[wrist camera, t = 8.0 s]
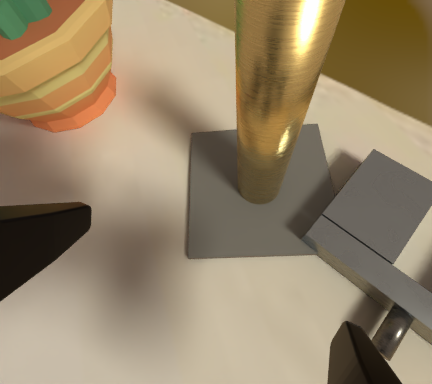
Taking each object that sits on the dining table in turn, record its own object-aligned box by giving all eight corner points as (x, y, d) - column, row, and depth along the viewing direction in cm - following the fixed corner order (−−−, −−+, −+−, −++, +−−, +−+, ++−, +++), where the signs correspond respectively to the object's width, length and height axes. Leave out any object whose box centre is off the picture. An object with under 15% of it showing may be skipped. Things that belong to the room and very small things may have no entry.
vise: (498, 459, 11) (541, 485, 10) (276, 269, 16) (280, 265, 14) (569, 285, 14) (613, 282, 12) (361, 163, 18) (373, 149, 16)
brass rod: (247, 210, 17) (265, -10, 5) (231, 175, 18) (216, -66, 6) (287, 195, 17) (393, -49, 5) (269, 161, 18) (321, -97, 7)
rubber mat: (189, 259, 16) (188, 258, 16) (192, 136, 20) (191, 132, 20) (345, 253, 16) (348, 252, 15) (316, 126, 20) (317, 123, 19)
